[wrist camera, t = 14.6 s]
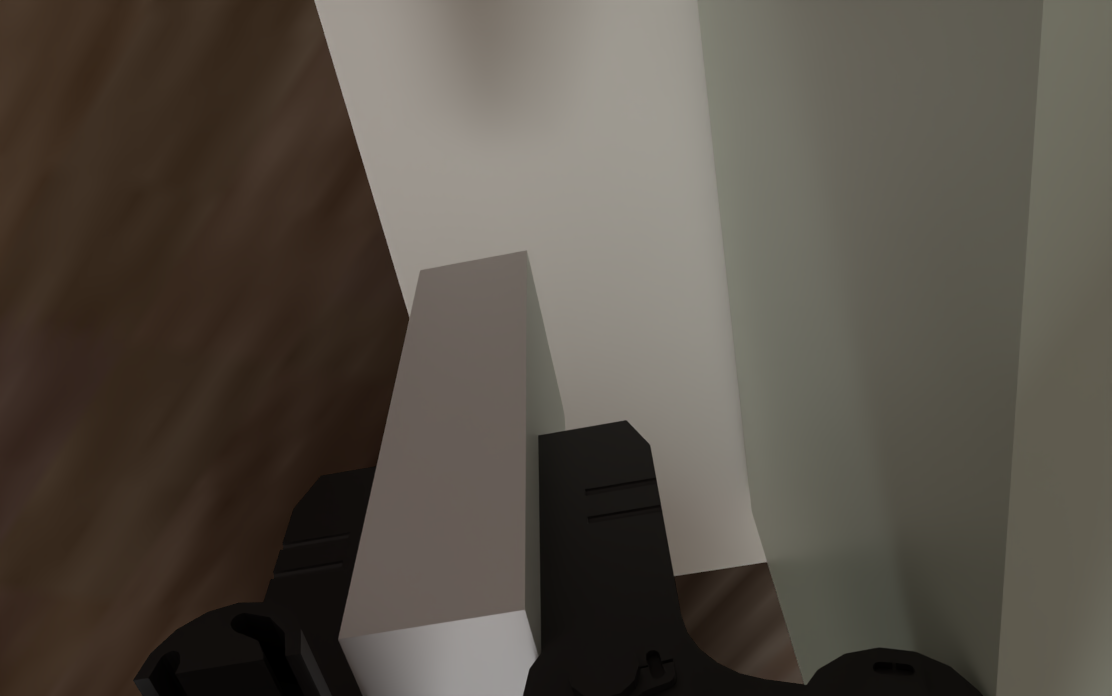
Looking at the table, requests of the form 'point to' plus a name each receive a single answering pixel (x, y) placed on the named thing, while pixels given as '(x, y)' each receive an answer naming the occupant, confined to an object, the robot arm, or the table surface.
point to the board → (571, 211)
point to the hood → (925, 324)
